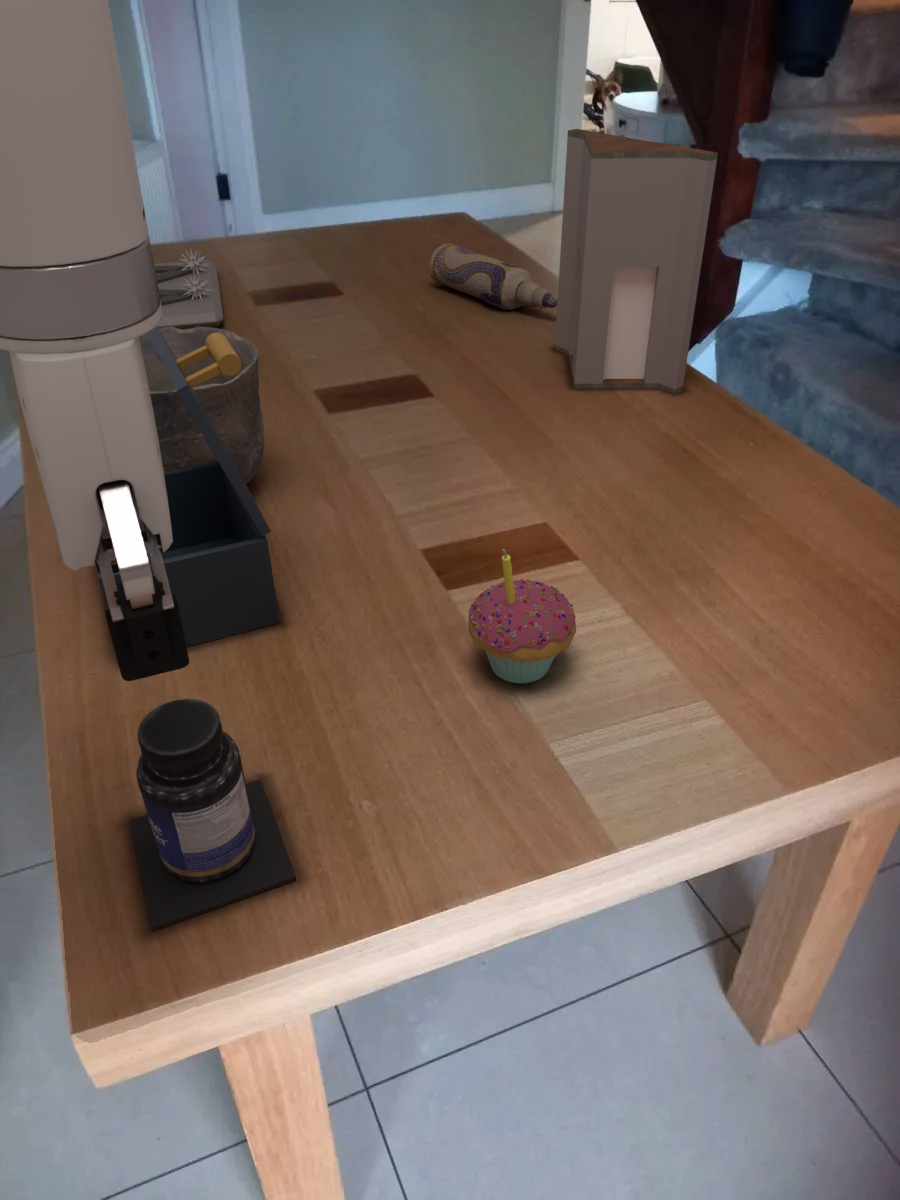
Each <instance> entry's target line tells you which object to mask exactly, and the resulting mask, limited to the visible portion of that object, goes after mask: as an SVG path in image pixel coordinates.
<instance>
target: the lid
mask: <svg viewBox="0 0 900 1200" xmlns="http://www.w3.org/2000/svg"><path fill="white" fill-rule="evenodd" d="M148 333H149V335H150V337H151V339H152V341H153V343H154V345H155V347H156V349H157V351H158V353H159V355H160V357H161V359H162V361H163V364H164V366H165V368H166V370H167V372H168V374H169V376H170V378H171V380H172V382H173V384H174V386H175V388H176V390H177V392H178V394H179V395H180V397H181V399H182V400H183V402H184V404H185V406H186V407H187V409H188V411H189V412H190V414H191V416H192V418H193V419H194V421H195V423H196V425H197V426H198V428H199V430H200V431H201V433H202V435H203V437H204V438H205V440H206V442H207V443H208V445H209V447H210V449H211V450H212V452H213V454H214V455H215V457H216V459H217V461H218V462H219V464H220V466H221V467H222V469H223V471H224V473H225V474H226V476H227V478H228V479H229V481H230V483H231V485H232V486H233V488H234V490H235V491H236V493H237V495H238V497H239V498H240V500H241V502H242V503H243V505H244V507H245V509H246V510H247V512H248V514H249V515H250V517H251V519H252V521H253V522H254V524H255V526H256V527H257V529H258V531H259V533H260V534H261V536H264V535H265V536H266V535H268V534H270V533H271V532H272V530H271V528H270V527H269V524H268V522H267V520H266V519H265V518H264V517H265V516H264V515H263V514H262V512H261V510H260V508H259V506H258V503H257V502H256V500H255V498H254V496H253V495H252V492H251V491H250V489H249V487H248V484H246V483H245V481H244V480H243V478H242V476H241V474H240V472H239V470H238V468H237V466H236V464H235V463H234V461H233V459H232V457H231V455H230V453H229V451H228V450H227V448H226V446H225V444H224V443H223V441H222V439H221V437H220V436H219V434H218V432H217V430H216V428H215V427H214V425H213V423H212V421H211V420H210V418H209V416H208V414H207V413H206V411H205V409H204V407H203V406H202V404H201V402H200V400H199V399H198V397H197V395H196V393H195V392H194V390H193V387H195V386H197V385H199V384H201V383H203V382H205V381H207V380H209V379H211V378H213V377H215V376H217V375H219V374H221V373H222V374H224V375H226V376H233V375H236V374H237V373H238V372H239V371H240V369H241V366H242V363H241V360H240V358H239V356H238V355H237V353H236V352H235V350H234V349H233V348H232V346H231V345H230V343H229V342H228V340H227V339H226V337H225V336H224V335H223V334H221V333H212V334H210V335H209V336H208V337H207V338H206V341H205V346H203V347H201V348H199V349H197V350H195V351H193V352H191V353H189V354H187V355H185V356H183V357H181V358H179V359H177V360H176V358H175V356H174V355H173V353H172V351H171V349H170V347H169V346H168V344H167V342H166V340H165V339H164V337H163V335H162V333H161V332H160V330H159V328H158V326H156V327H155V328H153V329H152V330H151V331H149V332H148ZM210 355H211V357H212V359H213V360H214V362H215V363H214V364H212V365H210V366H208V367H206V368H204V369H202V370H200V371H198V372H196V373H194V374H192V375H190V376H188V377H186V376H185V374H184V372H183V370H182V369H184V368H186V367H188V366H190V365H192V364H194V363H196V362H198V361H200V360H202V359H204V358H206V357H208V356H210Z"/></svg>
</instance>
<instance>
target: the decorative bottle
mask: <svg viewBox="0 0 900 1200" xmlns="http://www.w3.org/2000/svg"><path fill="white" fill-rule="evenodd" d="M428 270H429V276H430V278H431V279H432V280H433V281H434V282H435V283H436V284H438V285H441V286H445V287H448V288H450V289H453V290H455V291H458V292H462V293H464V294H466V295H470V296H471V297H474V298H476V299H477V298H478V299H480V300H483V302H485V303H486V304H489V305H490V306H493V307H496V308H498V309H501V310H503V311H512V310H518V309H520V308H528V307H533V308H538V309H542V310H543V309H547V308H549V309H554V308H557V302H558V299H557V298H556V297H555V295H554V294H552V292H551V291H550V290H548V289H547V288H542V287H541V286H540V285H539V284H537V283H536V282H535V281H533V279H532V275H531V273H530V272H529V271H527V269H524V268H523V267H519V266H517V265H515V264H511V263H508V262H505V261H503V260H500V259H497V258H494V257H490V256H488V255H484V254H481V253H480V252H479V253H478V252H476V251H473V250H470V249H467V248H464V247H462V246H458V245H456V244H454V243H444V244H442V245H440V246H438V247H437V248H436V249H435V250H434V251H433V252H432V253H431V257H430V258H429V263H428Z"/></svg>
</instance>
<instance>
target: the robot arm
mask: <svg viewBox="0 0 900 1200" xmlns="http://www.w3.org/2000/svg"><path fill="white" fill-rule="evenodd" d="M124 91H125V90H124V85H123V79H122V73H121V67H120V61H119V55H118V50H117V43H116V37H115V33H114V25H113V20H112V15H111V9H110V3H109V0H0V351H7V352H9V358H10V362H11V368H12V372H13V377H14V383H15V387H16V391H17V395H18V400H19V404H20V408H21V411H22V415H23V419H24V423H25V427H26V430H27V434H28V438H29V442H30V445H31V448H32V452H33V456H34V459H35V462H36V467H37V469H38V473H39V477H40V481H41V484H42V488H43V491H44V494H45V498H46V503H47V505H48V509H49V513H50V516H51V521H52V525H53V527H54V532H55V535H56V539H57V543H58V546H59V551H60V554H61V558H62V562H63V565H65V566H66V567H67V568H69V569H70V570H72V571H75V572H78V571H81V568H86V567H87V568H88V567H92V566H94V564H95V563H96V564H95V567H97V568H96V572H97V571H98V572H99V573H100V574H101V576H102V580H103V584H104V588H105V592H106V597H107V601H108V605H109V610H108V609H104V610H103V611H104V615H105V619H106V623H107V626H108V630H109V635H110V638H111V642H112V646H113V649H114V653H115V658H116V660H117V664H118V669H119V673H120V676H121V678H122V680H123V681H125V682H134V681H137V680H141V679H145V678H149V677H154V676H157V675H161V674H165V673H166V674H167V673H169V672H173V671H177V670H181V669H185V668H186V667H187V666H188V665H189V664H190V657H189V651H188V647H187V646H186V641H185V636H184V631H183V626H182V621H181V616H180V612H179V607H178V602H177V598H176V595H172V594H171V590H170V586H169V582H168V578H167V574H166V570H165V566H164V562H163V558H162V554H161V551H162V553H164V552H165V551H166V550H167V549H168V548H169V547H170V545H171V544H172V542H173V537H172V528H171V520H170V513H169V505H168V498H167V491H166V484H165V478H164V471H163V465H162V458H161V452H160V446H159V440H158V434H157V429H156V423H155V418H154V413H153V407H152V402H151V396H150V391H149V386H148V380H147V375H146V370H145V365H144V360H143V355H142V350H141V344H140V339H139V336H141V335H143V334H145V333H147V332H149V331H151V330H152V329H153V328H155V327H156V326H157V325H158V324H159V323H160V321H161V320H162V317H163V312H162V307H161V301H160V294H159V289H158V283H157V277H156V271H155V266H154V264H155V260H154V255H153V254H154V253H153V249H152V243H151V238H150V233H149V227H148V221H147V215H146V211H145V204H144V199H143V192H142V187H141V182H140V177H139V176H140V175H139V171H138V165H137V159H136V153H135V148H134V143H133V137H132V132H131V125H130V119H129V113H128V108H127V102H126V97H125V92H124ZM160 549H161V550H160ZM150 565H151V567H152V571H153V575H154V576H152V572H151V568H150ZM98 572H97V573H98ZM117 572H120V576H121V580H122V583H119V584H117V586H118V587H116V583H115V579H114V575H113V573H117Z"/></svg>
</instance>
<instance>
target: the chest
mask: <svg viewBox="0 0 900 1200" xmlns="http://www.w3.org/2000/svg"><path fill="white" fill-rule="evenodd" d="M164 478H165V484H166V491H167V498H168V505H169V513H170V520H171V528H172V537H173V542H172V544H171V545H170V547H169V548H168V549H167V550H166V551H165V552H164V553H162V551H161V554H162V558H163V562H164V566H165V570H166V574H167V578H168V582H169V586H170V590H171V594H172V595H176V598H177V602H178V607H179V612H180V616H181V621H182V626H183V631H184V636H185V641H186V646H187V648H188V647H189V648H190V647H193V646H197V645H200V644H204V643H208V642H212V641H216V640H220V639H224V638H228V637H231V636H235V635H238V634H243V633H246V632H247V633H248V632H250V631H254V630H258V629H262V628H265V627H270V626H273V625H277V624H281V621H280V615H279V607H278V601H277V593H276V587H275V582H274V574H273V568H272V562H271V555H270V554H271V553H270V549H269V543H268V542H269V541H268V538H267V536H266V535H264V536H261V534H260V533H259V531H258V529H257V527H256V526H255V524H254V522H253V521H252V519H251V517H250V515H249V514H248V512H247V510H246V509H245V507H244V505H243V503H242V502H241V500H240V498H239V497H238V495H237V493H236V491H235V490H234V488H233V486H232V485H231V483H230V481H229V479H228V478H227V476H226V474H225V473H224V471H223V469H222V467H221V466H220V464H219V462H218V461H217V462H212V463H207V464H202V465H197V466H192V467H187V468H182V469H177V470H172V471H167V472H164ZM160 550H161V549H160ZM94 564H95V565H96V563H95V562H94ZM95 567H96V566H95ZM150 568H151V572H152V576H154V575H153V571H152V567H151V565H150ZM95 569H97V567H96V568H95ZM96 572H97V576H98V580H99V584H100V587H101V591H102V594H103V598H104V601H105V605H106V608H107V610H109V605H108V601H107V597H106V592H105V588H104V584H103V580H102V576H101V574H100V573H99V572H98V571H97V570H96ZM113 575H114V579H115V583H116V587H118V586H117V584H119V583H122V580H121V576H120V572H117V573H113Z"/></svg>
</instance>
